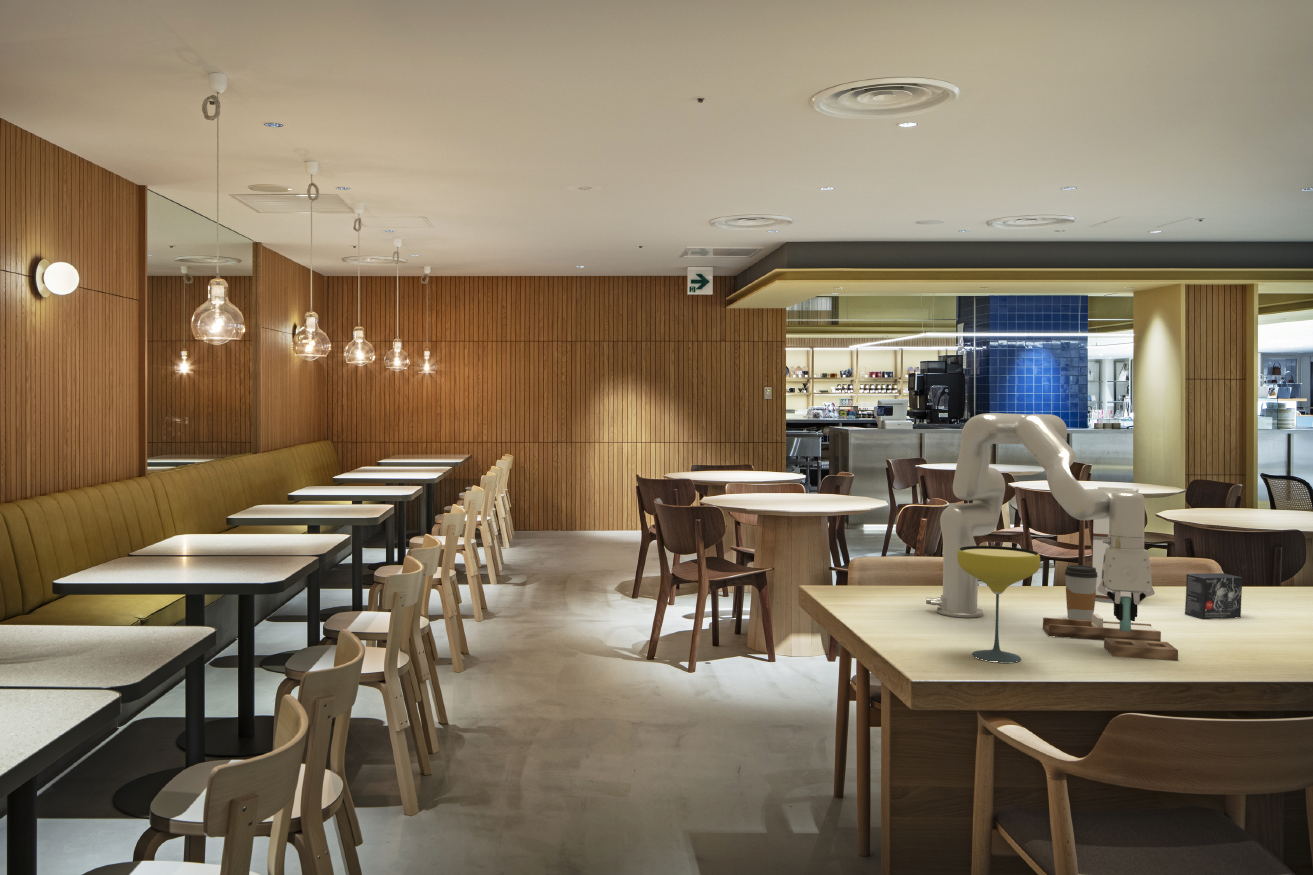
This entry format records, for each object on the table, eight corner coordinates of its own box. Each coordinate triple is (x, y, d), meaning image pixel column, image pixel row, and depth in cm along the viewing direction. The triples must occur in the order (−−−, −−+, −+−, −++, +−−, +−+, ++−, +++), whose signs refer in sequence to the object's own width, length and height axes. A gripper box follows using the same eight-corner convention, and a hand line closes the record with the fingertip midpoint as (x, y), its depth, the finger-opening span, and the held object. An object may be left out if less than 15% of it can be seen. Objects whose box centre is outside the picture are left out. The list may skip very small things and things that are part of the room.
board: (1049, 636, 229) (1049, 624, 229) (1042, 628, 238) (1043, 617, 238) (1160, 643, 223) (1160, 631, 223) (1149, 635, 231) (1150, 623, 231)
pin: (1120, 631, 212) (1120, 597, 212) (1118, 628, 214) (1118, 595, 214) (1131, 631, 211) (1132, 598, 211) (1129, 629, 214) (1129, 596, 214)
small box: (1203, 619, 251) (1203, 577, 251) (1184, 614, 258) (1184, 573, 258) (1242, 618, 254) (1243, 576, 254) (1222, 613, 261) (1223, 572, 260)
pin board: (1112, 655, 210) (1112, 645, 210) (1103, 647, 218) (1104, 637, 218) (1177, 660, 207) (1178, 650, 207) (1167, 651, 215) (1167, 641, 215)
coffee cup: (1100, 624, 243) (1101, 570, 243) (1068, 623, 245) (1068, 569, 244) (1092, 618, 251) (1093, 565, 251) (1060, 616, 253) (1061, 564, 252)
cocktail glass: (995, 671, 196) (997, 558, 196) (939, 651, 213) (941, 547, 212) (1056, 663, 203) (1058, 554, 203) (996, 644, 220) (998, 544, 219)
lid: (1097, 630, 227) (1097, 618, 227) (1091, 625, 234) (1091, 613, 233) (1157, 634, 224) (1157, 621, 224) (1149, 628, 230) (1150, 616, 230)
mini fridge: (1136, 599, 279) (1138, 488, 278) (1133, 605, 270) (1135, 490, 270) (1095, 595, 285) (1098, 486, 285) (1091, 600, 276) (1094, 488, 276)
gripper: (1093, 543, 211) (1092, 621, 211) (1168, 546, 207) (1167, 625, 207) (1086, 540, 218) (1085, 614, 218) (1158, 542, 214) (1157, 618, 215)
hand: (1125, 619), depth 213 cm, fingers closed on pin, 2 cm apart
